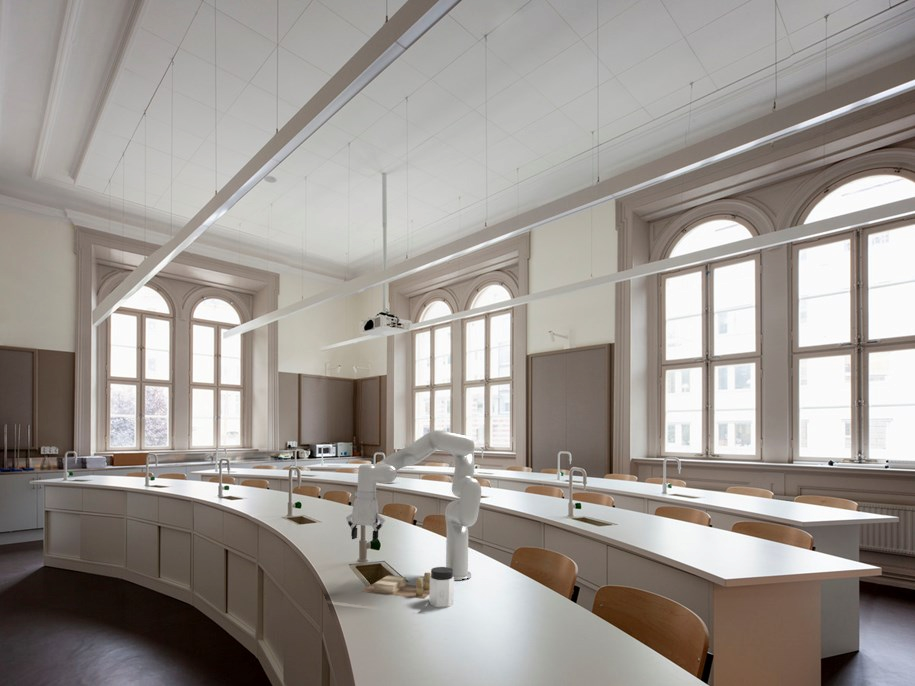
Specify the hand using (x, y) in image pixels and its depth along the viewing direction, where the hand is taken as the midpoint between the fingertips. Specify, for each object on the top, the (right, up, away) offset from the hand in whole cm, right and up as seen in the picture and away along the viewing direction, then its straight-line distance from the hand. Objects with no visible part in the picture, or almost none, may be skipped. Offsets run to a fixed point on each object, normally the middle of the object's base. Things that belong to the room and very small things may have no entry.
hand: (364, 539), depth 222 cm
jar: (+32, -16, -20) cm, 41 cm away
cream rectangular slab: (+11, -17, -6) cm, 21 cm away
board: (+15, -18, -8) cm, 24 cm away
